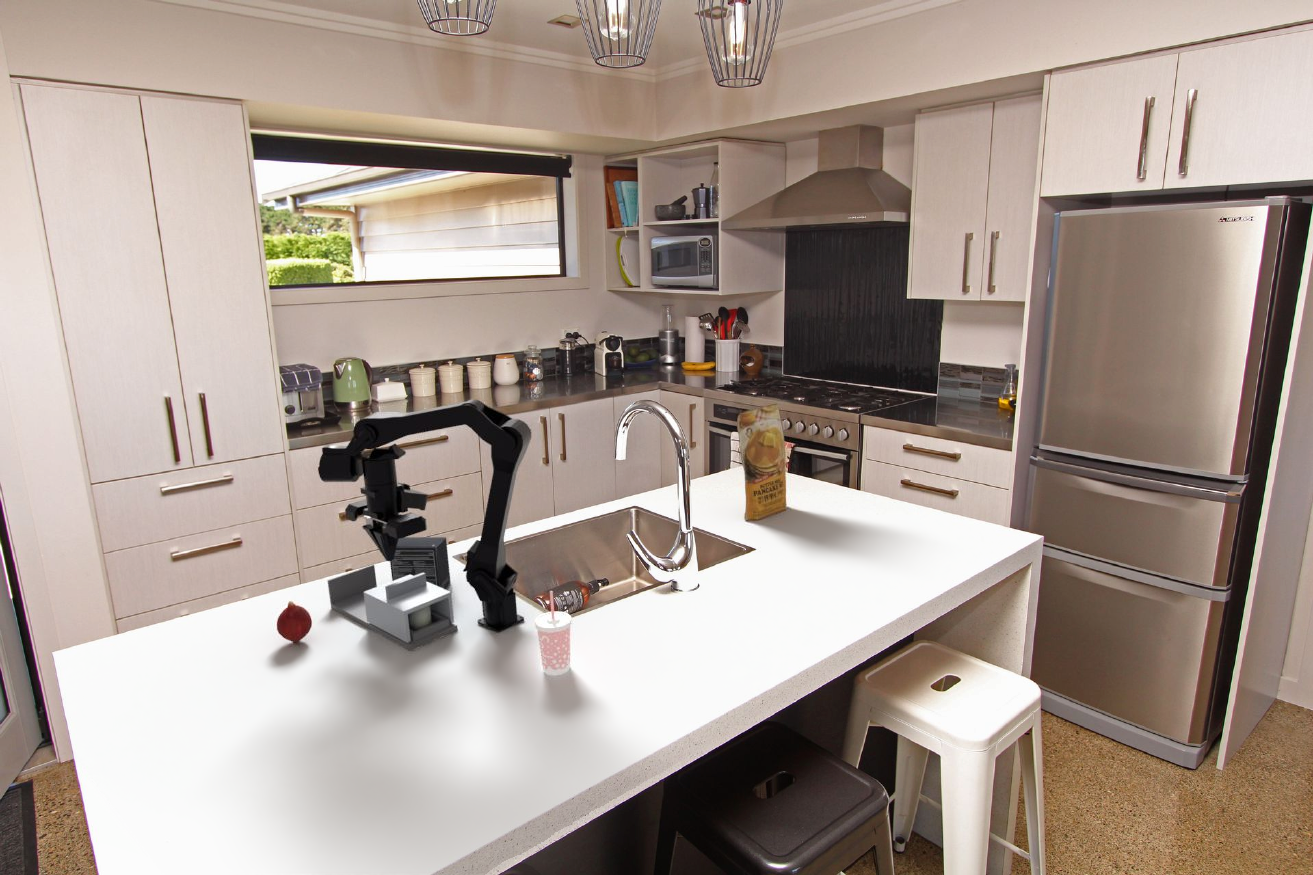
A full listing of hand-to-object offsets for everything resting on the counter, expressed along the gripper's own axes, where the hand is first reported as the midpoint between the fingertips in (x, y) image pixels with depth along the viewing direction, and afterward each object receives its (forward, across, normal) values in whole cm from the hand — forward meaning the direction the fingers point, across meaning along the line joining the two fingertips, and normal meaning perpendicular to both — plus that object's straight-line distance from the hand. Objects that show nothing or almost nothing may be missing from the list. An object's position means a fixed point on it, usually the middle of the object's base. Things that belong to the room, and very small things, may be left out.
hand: (389, 560), depth 149 cm
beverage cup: (+13, -38, -7) cm, 40 cm away
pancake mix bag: (+13, -22, -94) cm, 97 cm away
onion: (+13, +8, +16) cm, 22 cm away
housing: (+12, +2, 0) cm, 13 cm away
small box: (+13, +10, -12) cm, 20 cm away
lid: (+11, -5, 0) cm, 12 cm away
